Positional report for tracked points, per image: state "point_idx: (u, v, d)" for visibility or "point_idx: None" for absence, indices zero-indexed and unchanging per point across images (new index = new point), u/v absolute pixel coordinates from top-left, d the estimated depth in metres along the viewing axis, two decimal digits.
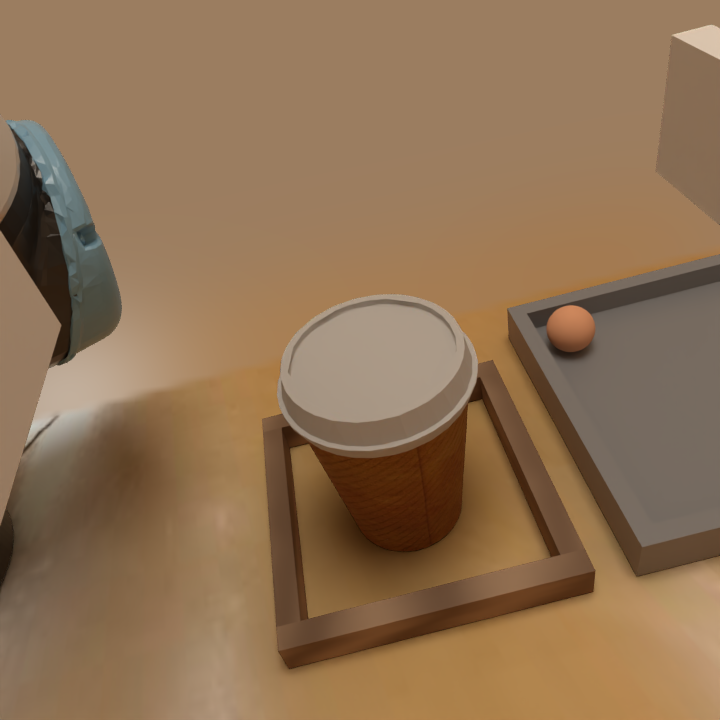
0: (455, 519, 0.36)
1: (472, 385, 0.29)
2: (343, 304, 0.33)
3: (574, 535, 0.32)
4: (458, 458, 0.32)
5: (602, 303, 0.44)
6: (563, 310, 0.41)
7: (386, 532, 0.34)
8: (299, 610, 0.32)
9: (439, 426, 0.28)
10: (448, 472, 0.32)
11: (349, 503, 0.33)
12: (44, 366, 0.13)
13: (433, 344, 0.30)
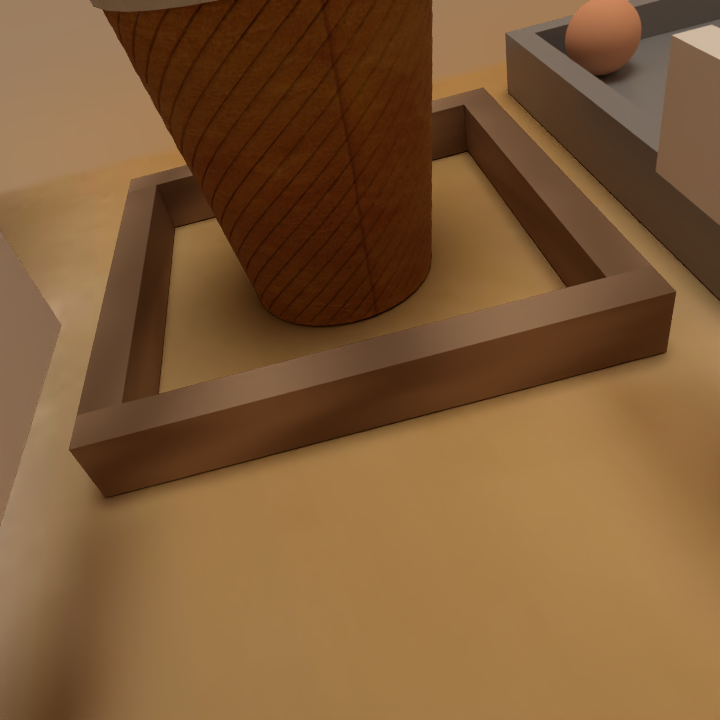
0: (419, 274, 0.21)
1: None
2: None
3: (630, 250, 0.18)
4: (416, 104, 0.17)
5: (647, 23, 0.30)
6: (592, 0, 0.27)
7: (296, 277, 0.20)
8: (124, 390, 0.17)
9: None
10: (396, 123, 0.17)
11: (225, 215, 0.19)
12: (44, 366, 0.13)
13: None
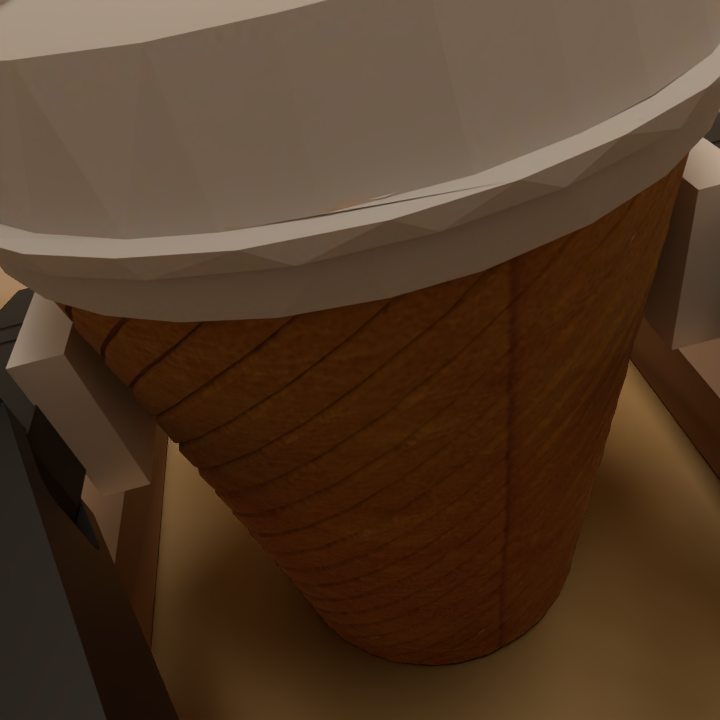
0: (565, 573, 0.13)
1: None
2: None
3: None
4: (621, 379, 0.09)
5: None
6: None
7: (374, 621, 0.11)
8: None
9: (659, 114, 0.05)
10: (592, 427, 0.09)
11: (255, 535, 0.11)
12: None
13: None
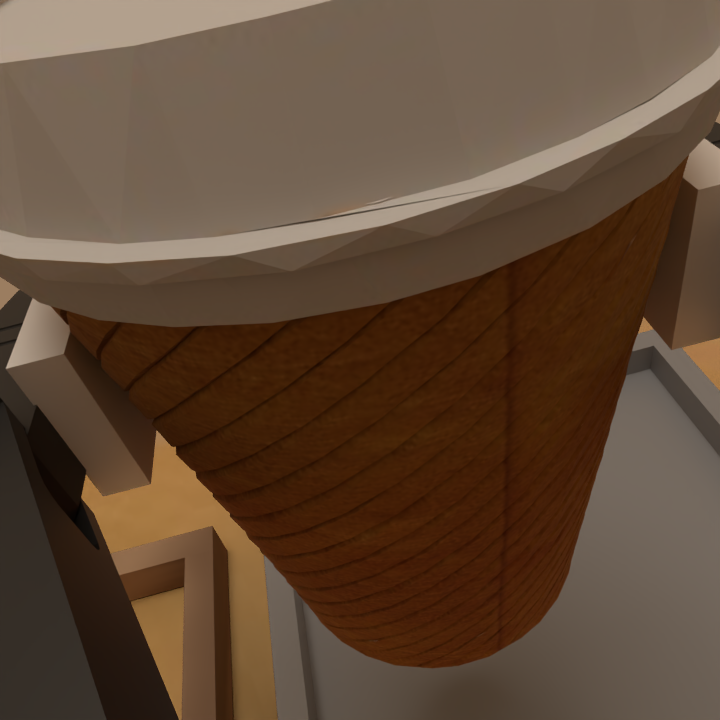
0: (565, 576, 0.13)
1: None
2: None
3: None
4: (621, 383, 0.09)
5: None
6: None
7: (373, 625, 0.11)
8: None
9: (658, 117, 0.05)
10: (591, 431, 0.09)
11: (253, 538, 0.11)
12: None
13: None
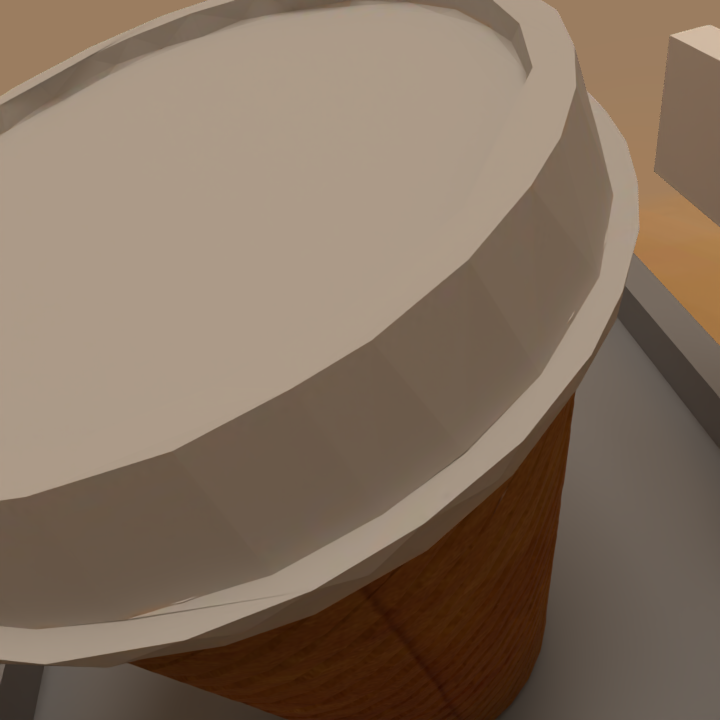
0: (534, 658, 0.13)
1: (626, 242, 0.06)
2: (119, 38, 0.10)
3: None
4: (547, 537, 0.09)
5: None
6: None
7: None
8: None
9: (466, 486, 0.04)
10: (515, 594, 0.09)
11: None
12: None
13: (418, 86, 0.07)
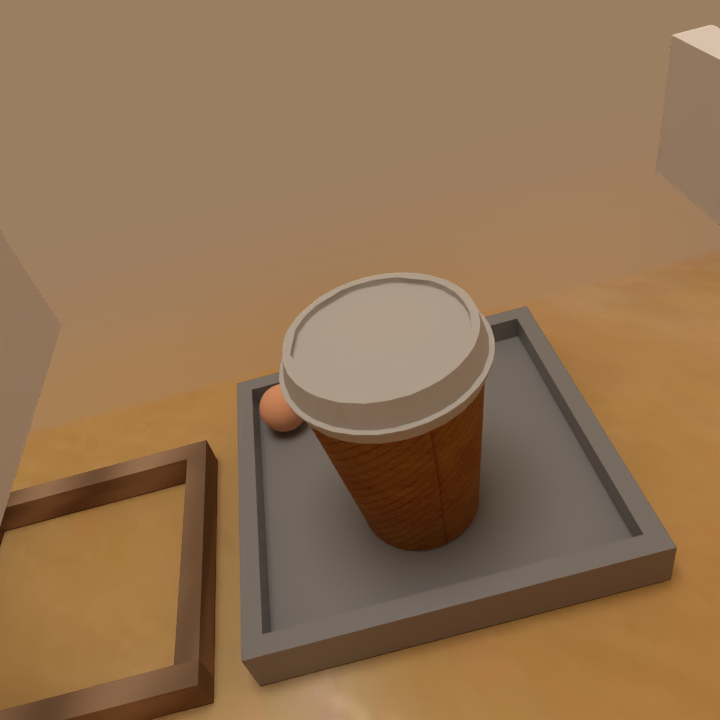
0: (472, 515, 0.33)
1: (489, 364, 0.27)
2: (348, 284, 0.31)
3: (195, 643, 0.31)
4: (475, 446, 0.30)
5: None
6: (270, 390, 0.40)
7: (399, 530, 0.32)
8: None
9: (454, 407, 0.25)
10: (464, 461, 0.29)
11: (358, 498, 0.31)
12: (44, 366, 0.13)
13: (445, 322, 0.28)
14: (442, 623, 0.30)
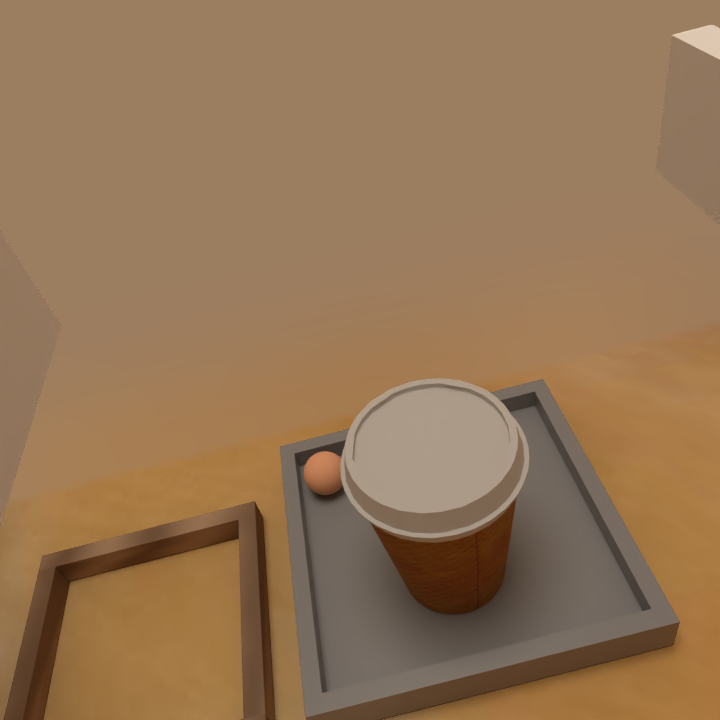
0: (500, 583, 0.38)
1: (525, 472, 0.31)
2: (398, 388, 0.35)
3: (261, 698, 0.36)
4: (508, 533, 0.34)
5: None
6: (314, 458, 0.45)
7: (438, 599, 0.36)
8: None
9: (497, 514, 0.30)
10: (499, 547, 0.34)
11: (404, 573, 0.36)
12: (44, 366, 0.13)
13: (487, 432, 0.32)
14: (477, 683, 0.35)
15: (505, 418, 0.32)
